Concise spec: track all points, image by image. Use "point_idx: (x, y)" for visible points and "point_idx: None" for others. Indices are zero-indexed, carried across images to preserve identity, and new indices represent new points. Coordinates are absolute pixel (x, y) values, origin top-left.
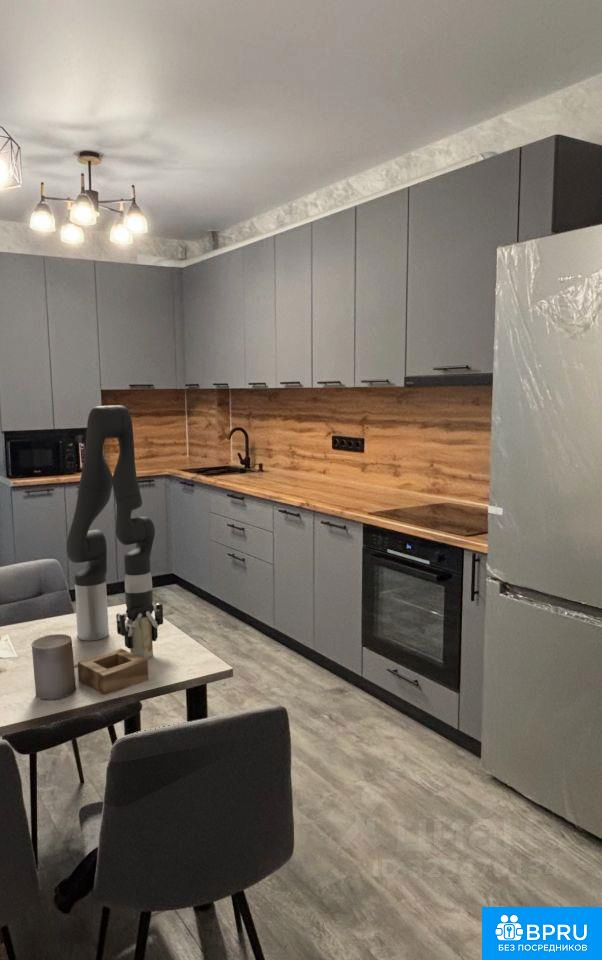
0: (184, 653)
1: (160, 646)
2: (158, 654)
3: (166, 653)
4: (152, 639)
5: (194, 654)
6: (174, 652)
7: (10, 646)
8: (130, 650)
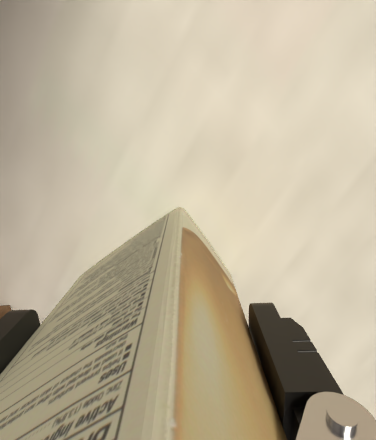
0: (352, 375)
1: (347, 192)
2: (252, 294)
3: (291, 313)
4: (251, 334)
5: (373, 415)
6: (330, 330)
7: None
8: (51, 312)
